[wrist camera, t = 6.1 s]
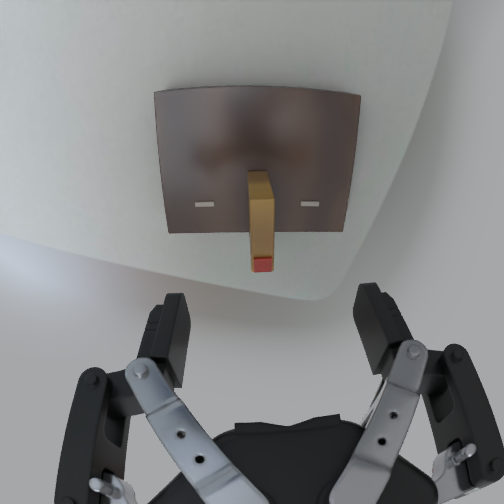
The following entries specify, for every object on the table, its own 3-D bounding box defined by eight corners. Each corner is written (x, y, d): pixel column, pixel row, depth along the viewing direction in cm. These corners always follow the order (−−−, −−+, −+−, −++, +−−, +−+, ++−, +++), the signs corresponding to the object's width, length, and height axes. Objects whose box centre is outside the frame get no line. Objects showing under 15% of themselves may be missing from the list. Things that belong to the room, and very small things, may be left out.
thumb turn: (247, 171, 20) (249, 201, 15) (267, 170, 20) (275, 200, 16) (249, 232, 23) (251, 275, 18) (267, 232, 23) (273, 274, 18)
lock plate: (346, 92, 19) (362, 95, 17) (333, 215, 25) (343, 232, 23) (164, 89, 19) (153, 92, 16) (175, 216, 25) (167, 234, 22)
